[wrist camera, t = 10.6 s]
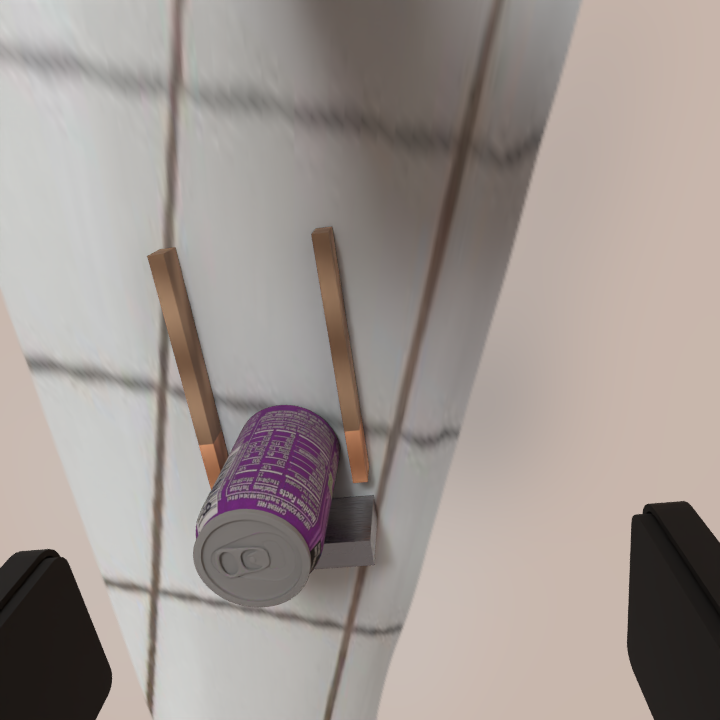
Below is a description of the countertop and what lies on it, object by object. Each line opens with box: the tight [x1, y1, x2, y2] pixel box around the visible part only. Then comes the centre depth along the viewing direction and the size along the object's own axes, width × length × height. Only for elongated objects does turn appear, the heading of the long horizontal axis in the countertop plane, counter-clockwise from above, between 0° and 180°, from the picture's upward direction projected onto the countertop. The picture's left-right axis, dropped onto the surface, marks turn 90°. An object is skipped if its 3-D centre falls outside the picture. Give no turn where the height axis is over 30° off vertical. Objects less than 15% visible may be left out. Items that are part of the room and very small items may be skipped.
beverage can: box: [193, 405, 340, 607], centre depth 36 cm, size 7×7×12 cm
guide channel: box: [147, 227, 377, 569], centre depth 38 cm, size 22×11×5 cm, turn 8°
